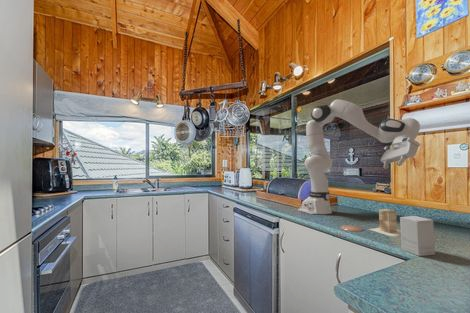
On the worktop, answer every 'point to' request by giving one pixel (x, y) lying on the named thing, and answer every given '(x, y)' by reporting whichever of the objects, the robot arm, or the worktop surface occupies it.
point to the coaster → (352, 228)
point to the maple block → (388, 220)
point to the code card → (386, 232)
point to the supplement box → (417, 235)
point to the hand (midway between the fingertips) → (391, 166)
